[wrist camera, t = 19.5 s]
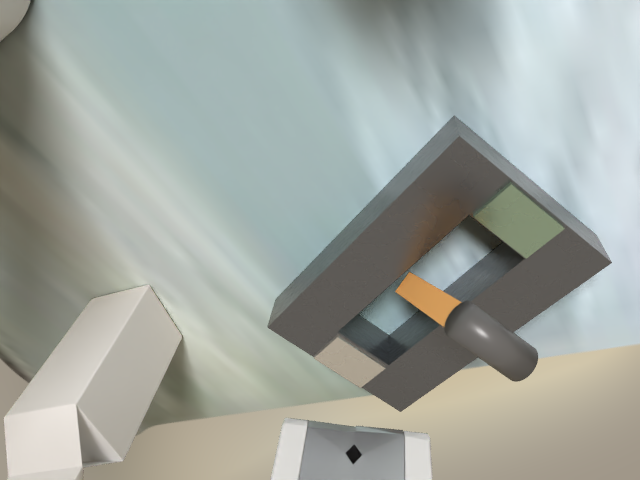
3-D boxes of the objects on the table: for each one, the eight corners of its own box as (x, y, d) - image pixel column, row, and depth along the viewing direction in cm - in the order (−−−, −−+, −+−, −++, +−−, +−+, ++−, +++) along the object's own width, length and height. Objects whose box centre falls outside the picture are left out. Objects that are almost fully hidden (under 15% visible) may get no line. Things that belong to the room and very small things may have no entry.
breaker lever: (440, 327, 46) (521, 387, 34) (390, 292, 45) (456, 342, 33) (458, 302, 46) (545, 354, 34) (408, 266, 45) (481, 307, 33)
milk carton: (91, 297, 56) (-30, 461, 40) (150, 282, 54) (47, 449, 38) (127, 347, 59) (28, 516, 43) (183, 335, 57) (102, 508, 41)
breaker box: (400, 380, 57) (400, 415, 53) (275, 299, 53) (266, 330, 49) (596, 234, 45) (613, 265, 41) (454, 115, 41) (459, 137, 37)
